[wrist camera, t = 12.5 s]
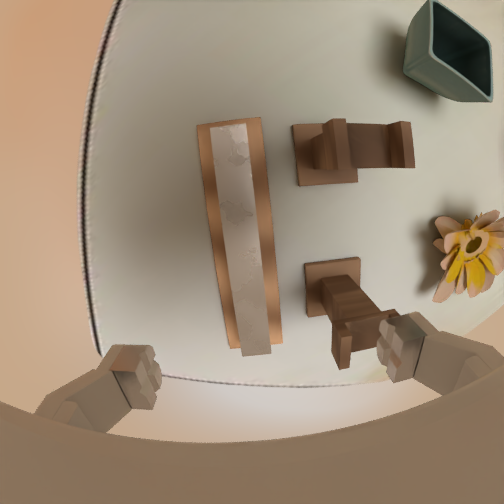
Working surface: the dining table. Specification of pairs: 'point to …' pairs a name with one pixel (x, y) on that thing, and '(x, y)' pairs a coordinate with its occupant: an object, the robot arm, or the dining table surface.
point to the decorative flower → (470, 254)
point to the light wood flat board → (262, 219)
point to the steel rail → (241, 236)
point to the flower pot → (448, 55)
